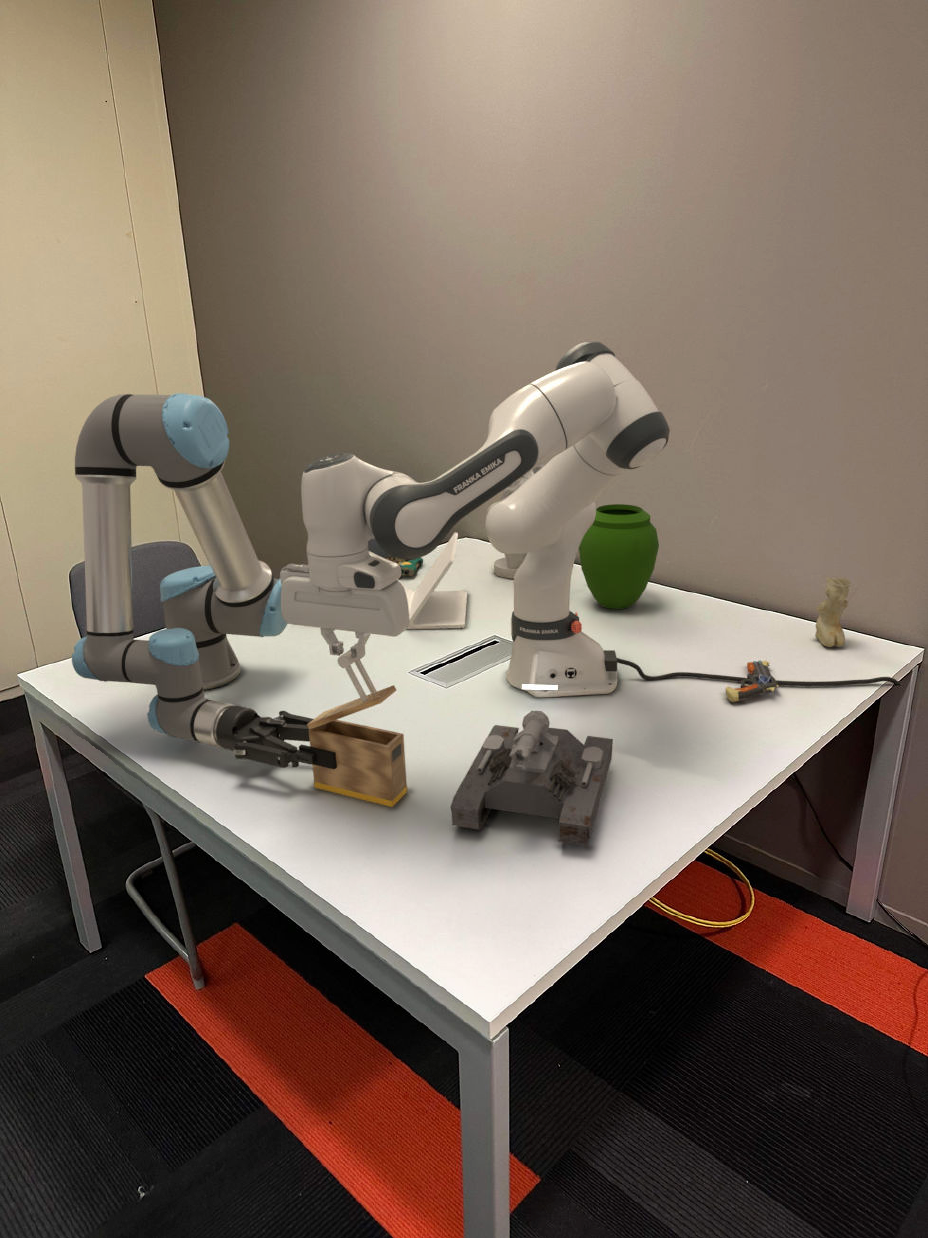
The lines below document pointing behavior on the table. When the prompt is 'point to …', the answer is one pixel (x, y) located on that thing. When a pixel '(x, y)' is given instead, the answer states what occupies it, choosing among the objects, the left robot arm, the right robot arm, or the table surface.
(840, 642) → the sculpture
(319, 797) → the table surface
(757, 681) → the toy gun
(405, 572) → the spray gun
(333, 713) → the lid
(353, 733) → the chest
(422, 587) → the tablet stand
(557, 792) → the toy
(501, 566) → the bust sculpture
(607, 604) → the vase
